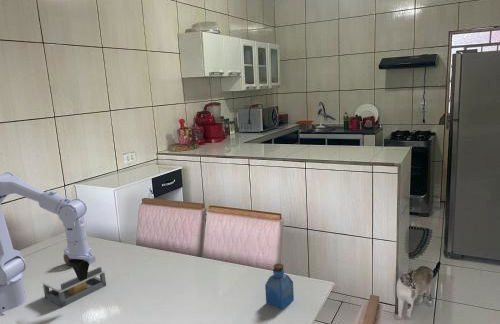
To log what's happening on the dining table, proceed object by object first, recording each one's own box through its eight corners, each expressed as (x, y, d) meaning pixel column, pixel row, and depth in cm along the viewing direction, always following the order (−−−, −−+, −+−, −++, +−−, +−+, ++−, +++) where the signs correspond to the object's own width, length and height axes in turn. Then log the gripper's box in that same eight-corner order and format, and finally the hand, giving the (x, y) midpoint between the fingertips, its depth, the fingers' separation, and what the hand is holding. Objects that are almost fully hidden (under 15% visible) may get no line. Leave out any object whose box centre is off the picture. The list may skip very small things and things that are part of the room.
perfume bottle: (277, 294, 126) (276, 259, 123) (293, 300, 122) (292, 264, 120) (266, 303, 121) (264, 267, 119) (282, 309, 117) (280, 272, 115)
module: (75, 297, 130) (73, 284, 129) (68, 293, 132) (66, 281, 131) (87, 291, 133) (85, 278, 132) (80, 288, 136) (78, 275, 135)
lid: (60, 292, 123) (59, 286, 122) (42, 284, 129) (41, 278, 129) (104, 272, 136) (103, 266, 135) (86, 265, 142) (85, 260, 142)
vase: (61, 266, 156) (57, 246, 155) (75, 259, 162) (72, 239, 161) (72, 269, 153) (69, 248, 152) (87, 262, 159) (84, 242, 157)
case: (62, 309, 124) (60, 293, 123) (45, 300, 130) (42, 285, 129) (106, 287, 137) (104, 273, 136) (88, 280, 143) (86, 266, 142)
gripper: (101, 238, 119) (107, 279, 122) (76, 231, 128) (81, 269, 130) (80, 246, 114) (87, 289, 116) (55, 238, 122) (61, 278, 125)
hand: (82, 279), depth 123 cm, fingers closed
